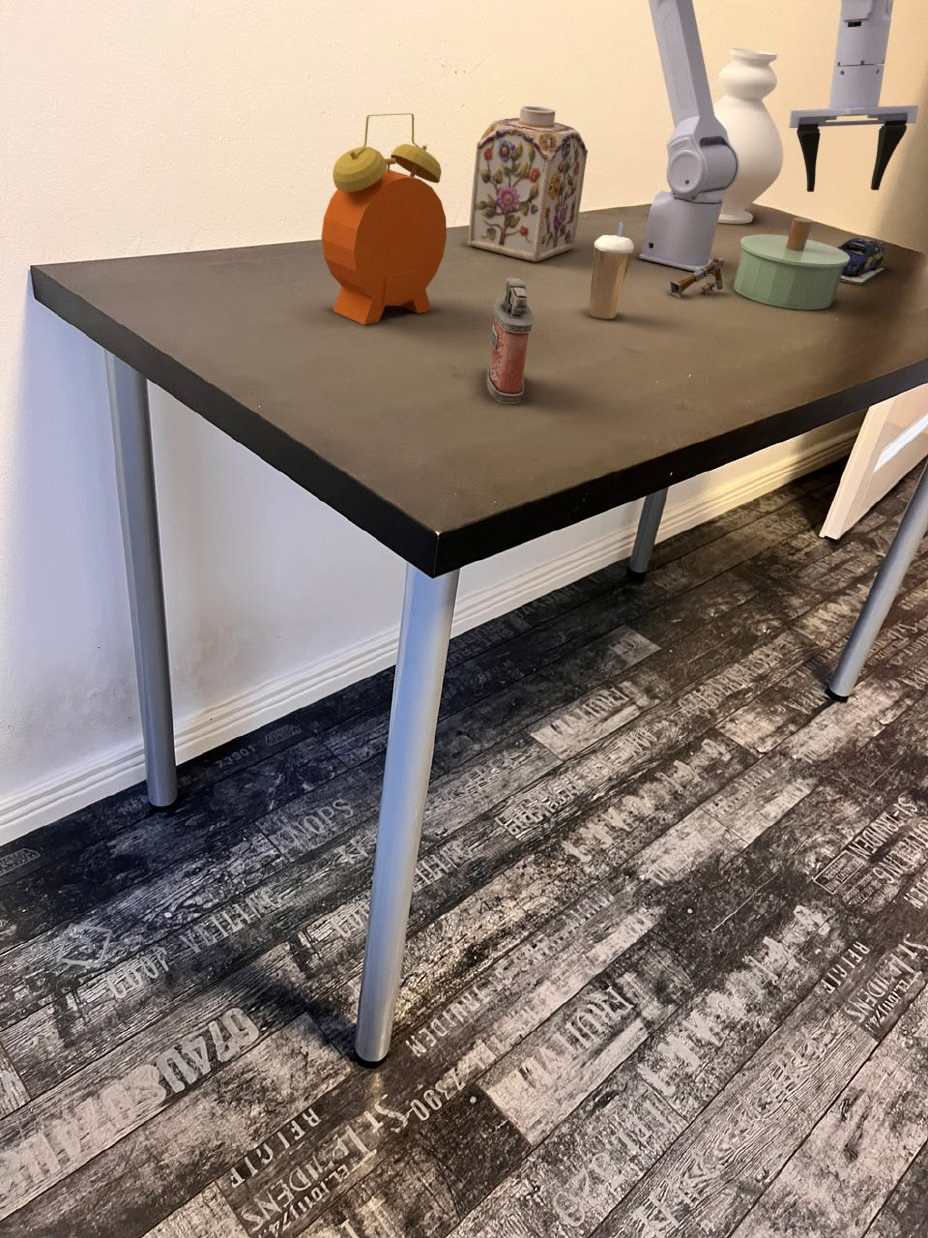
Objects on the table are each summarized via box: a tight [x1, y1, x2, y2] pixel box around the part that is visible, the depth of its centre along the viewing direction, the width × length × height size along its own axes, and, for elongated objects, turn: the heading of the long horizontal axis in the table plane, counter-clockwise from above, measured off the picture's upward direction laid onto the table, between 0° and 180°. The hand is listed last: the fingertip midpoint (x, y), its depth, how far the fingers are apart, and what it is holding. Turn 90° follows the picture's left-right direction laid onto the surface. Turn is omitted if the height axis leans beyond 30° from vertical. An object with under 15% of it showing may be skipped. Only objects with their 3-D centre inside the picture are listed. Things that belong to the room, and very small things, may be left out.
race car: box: [837, 237, 887, 285], centre depth 142 cm, size 15×7×4 cm, turn 145°
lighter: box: [486, 277, 534, 405], centre depth 90 cm, size 8×3×10 cm, turn 5°
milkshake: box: [588, 222, 635, 320], centre depth 112 cm, size 4×5×10 cm
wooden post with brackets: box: [669, 257, 726, 298], centre depth 125 cm, size 2×8×4 cm, turn 117°
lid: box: [739, 217, 850, 268], centre depth 125 cm, size 14×14×5 cm
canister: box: [733, 247, 844, 311], centre depth 128 cm, size 13×13×6 cm
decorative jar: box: [467, 105, 589, 263], centre depth 132 cm, size 12×12×18 cm
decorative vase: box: [713, 47, 784, 225], centre depth 161 cm, size 18×18×25 cm
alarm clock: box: [320, 112, 448, 326], centre depth 103 cm, size 13×6×20 cm, turn 134°
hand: (842, 190), depth 120 cm, fingers open, 7 cm apart
